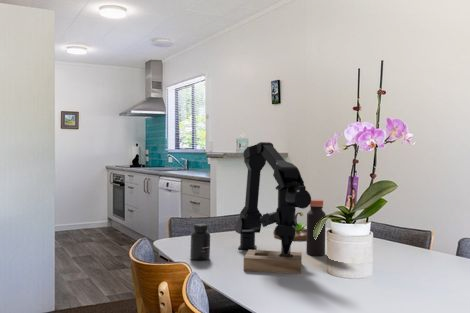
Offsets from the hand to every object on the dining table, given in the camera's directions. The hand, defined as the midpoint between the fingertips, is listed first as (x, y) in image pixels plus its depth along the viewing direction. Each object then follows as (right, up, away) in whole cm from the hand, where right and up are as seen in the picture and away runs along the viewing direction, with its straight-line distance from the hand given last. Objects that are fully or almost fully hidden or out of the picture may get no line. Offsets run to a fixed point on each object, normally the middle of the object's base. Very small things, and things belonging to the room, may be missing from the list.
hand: (285, 252), depth 144 cm
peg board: (-4, -5, +1) cm, 6 cm away
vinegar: (+13, -5, +20) cm, 25 cm away
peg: (0, -4, 0) cm, 4 cm away
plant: (+11, -5, +54) cm, 56 cm away
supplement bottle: (-29, -5, +11) cm, 31 cm away
